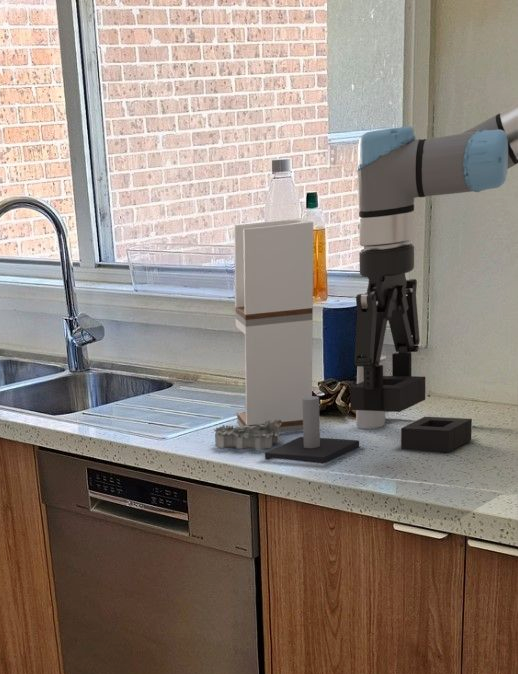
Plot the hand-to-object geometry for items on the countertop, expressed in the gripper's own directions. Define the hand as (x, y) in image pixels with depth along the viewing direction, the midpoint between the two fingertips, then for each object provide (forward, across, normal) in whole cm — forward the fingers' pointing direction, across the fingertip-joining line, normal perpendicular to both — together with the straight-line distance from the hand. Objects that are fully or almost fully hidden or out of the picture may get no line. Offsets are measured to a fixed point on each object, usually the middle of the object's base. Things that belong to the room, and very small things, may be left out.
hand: (388, 402), depth 184 cm
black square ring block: (0, 0, 0) cm, 0 cm away
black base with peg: (+10, -4, -16) cm, 19 cm away
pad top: (+10, -15, 0) cm, 18 cm away
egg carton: (+10, -6, -30) cm, 32 cm away
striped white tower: (+10, -19, -33) cm, 39 cm away
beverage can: (+10, -23, -16) cm, 30 cm away
